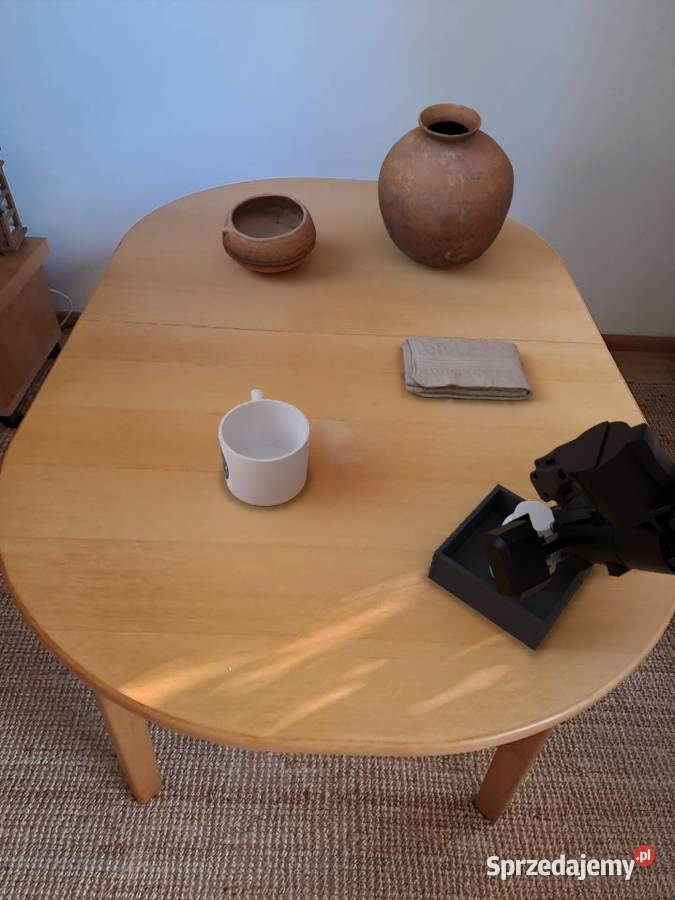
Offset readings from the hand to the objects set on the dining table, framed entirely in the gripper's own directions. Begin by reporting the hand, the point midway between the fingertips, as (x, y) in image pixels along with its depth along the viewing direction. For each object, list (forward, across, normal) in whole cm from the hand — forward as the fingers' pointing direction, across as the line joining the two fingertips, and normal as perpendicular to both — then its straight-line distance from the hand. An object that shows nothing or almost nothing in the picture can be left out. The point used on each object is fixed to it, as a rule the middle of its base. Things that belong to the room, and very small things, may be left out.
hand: (518, 525), depth 70 cm
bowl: (+54, -5, -44) cm, 70 cm away
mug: (+23, +17, -13) cm, 32 cm away
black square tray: (+4, 0, +6) cm, 7 cm away
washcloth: (+26, -16, -16) cm, 34 cm away
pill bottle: (+4, 0, +6) cm, 7 cm away
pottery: (+47, -33, -37) cm, 69 cm away
